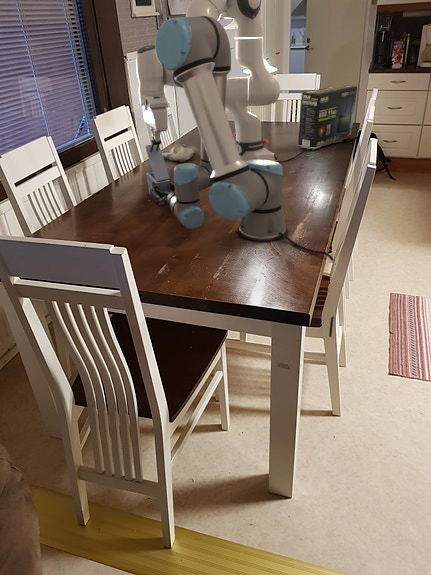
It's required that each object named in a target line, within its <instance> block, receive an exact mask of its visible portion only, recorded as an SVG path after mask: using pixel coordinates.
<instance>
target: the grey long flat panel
mask: <svg viewBox="0 0 431 575" xmlns="http://www.w3.org/2000/svg"><path fill="white" fill-rule="evenodd" d="M160 145H162V139H161V138H160V141H157V142H156V141H155V140H154V139H151V140H150V144H148V145H147V144H146V145H144V146H145V147H144V149H145V152H146V155H147V158H148V161H149V164H150V166H151V167H150V168H151V172H153V174H154V177H155V180H156V182H160V181H165V180H170V178H171V177H170V175H169V172H168V168H167V165H166V162H165V159H163V155H162V149H161V146H160Z"/></svg>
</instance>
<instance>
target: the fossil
mask: <svg viewBox="0 0 431 575" xmlns="http://www.w3.org/2000/svg"><path fill="white" fill-rule="evenodd" d="M161 152H162V155H163V159H164V160H169V161H174V162H177V161H179V162H180V163H186V162H187V161H188V160H190V159H191V158H192V157H193V156H194V155H197V154H198V153H199V150H198V148H197V146H195V145H188V146H187V145H186V143H184V142H183V143H181V142H176V143H175V145H174V146H173V147H172V148H171V149H170V150H168V149H165V150H161Z"/></svg>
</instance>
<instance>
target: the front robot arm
mask: <svg viewBox="0 0 431 575" xmlns="http://www.w3.org/2000/svg"><path fill="white" fill-rule="evenodd" d="M154 45H155V51H156V55H157V58H158V61H159V62H160V64H161V65H162V66H164V67H165V68H166V69H168V70H171V71H172V74H173V76H174V79H175V81H177V82H179V83H180V84H182V85H183V88H182V89H183V90H184V93H185V96H186V99H187V102H188V104H189V107H190V110H191V113H192V116H193V119H194V122H195V125H196V127H197V130H198V133H199V136H200V158H199V159H200V160H199V161H200V163H199V165H196V163H191V162H183V163H179V164H177V165H175V166H174V167H173V182H172V180H170V179H169V181H170V188H171V193H169V192H167V191H166V192H164V191H162V190H160V189H159V187H158V186H157V185H156V184H155V183H154V182H152V189H150V194H149V197H150V198H151V199H152V201H154V202H155V205H157V206H158V205H159V203H161V202H163V203H164V204H163V205H166V207H167V208H168V209H169V211H170V212H171V213H172V214H173V216H175V217H176V218H177V220H178V221H179V223H180V224H181V225H182V226H184V227H185V228H186V229H188V230H195V229H198V228H200V227H201V226H202V225H203V223H204V221H205V213H204V212H203V210H202V208H201V202H200V192H201V191H203V190H206V189H207V188H209V193H208V201H209V204H210V207H211V209H212V211H214V212H215V214H216V215H218V216H219V217H221V218H222V219H225V220H227V221H236V220H238V219H240V218H241V220H240V222H239V226H238V232H239V235H240V236H241V237H242V238H244V239H247V240H250V241H254V242H271V241H277V240H279V239H281V238H284V239H286V241H288V242H289V243H291V244H292V245H293V246H296V247H297V248H299V249H302V250H304V251H307V252H310V253H313V254H320V255H325V256H327V257H328V258H329V259H330V260H331V261H335V258H334V257H333V256H332V255H331V254H330V253H329V252H327V251H323V250H315V249H311V248H309V247H306V246H303V245H301V244H299V243H297V242H295V241H294V240H292V239H291V238H290V237H288V236H287V235H286V234H287V223H286V221H285V216H284V214H283V210H282V200H283V183H284V169H283V165H282V164H281V163H278V162H276V160H275V161H270V160H249V161H246V162H244V161H242V160H241V158H240V155H239V152H238V149H237V146H236V143H235V139H234V137H233V134H234V133H233V132H232V128H231V125H230V122H229V119H228V116H227V112H226V110H227V108H226V85H227V79H228V74H230V72H231V70H232V50H231V43H230V39H229V36H228V34H227V31H226V29H225V27H224V26H223V25H222V23H221V22H220V21H219V20H218V21H217V20H216V19H214V18H212V17H209V16H200V17H186V16H176V17H173V18H168V19H165V21H164V22H162V23H161V25H160V26H159V28H158V29H157V32H156V37H155V41H154ZM334 318H335V316H334V315H333V316H332V317H330V324H329V330H328V331H329V332H328V337H329V338H332V336H333V325H334Z"/></svg>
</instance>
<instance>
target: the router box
mask: <svg viewBox="0 0 431 575" xmlns="http://www.w3.org/2000/svg"><path fill="white" fill-rule="evenodd" d="M357 93H358V86H356V85H350V84H339V85H338V84H337V85H334V86H328V87H324V88H318V89H314V90H309V91H304V92H301V93H300V109H299V110H300V111H299V124H298V137H297V146H298V145H302V146H307V147H317V146H320V145H323V144H325V143H328V142H331V141H333V140H336V139H338V138H341V137H344V136H347V135H351V136H352V133H353V132H352V131H353V125H354V115H355V109H356V99H357ZM311 151H313V150H312V149H311Z"/></svg>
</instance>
